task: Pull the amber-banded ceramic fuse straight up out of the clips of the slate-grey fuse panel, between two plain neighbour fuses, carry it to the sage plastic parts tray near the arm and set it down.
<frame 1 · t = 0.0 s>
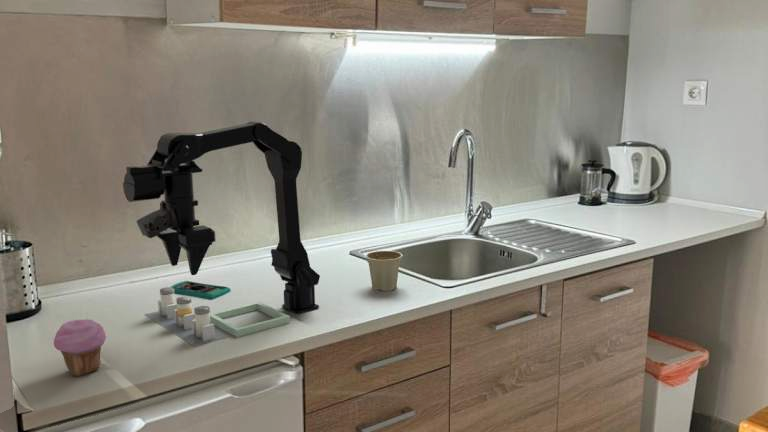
hand: (183, 270, 150), 15 cm above the worktop, fingers open, 9 cm apart
fuse marked: (185, 325, 157), point 1 cm above the worktop, touching fuse panel
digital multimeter: (199, 298, 180), on the worktop
flower pot: (384, 288, 186), on the worktop
fuse left: (168, 315, 163), point 1 cm above the worktop, touching fuse panel
cupcake: (83, 371, 137), on the worktop
fuse panel: (185, 330, 157), on the worktop
fuse right: (203, 336, 150), point 1 cm above the worktop, touching fuse panel
tray: (249, 326, 159), on the worktop
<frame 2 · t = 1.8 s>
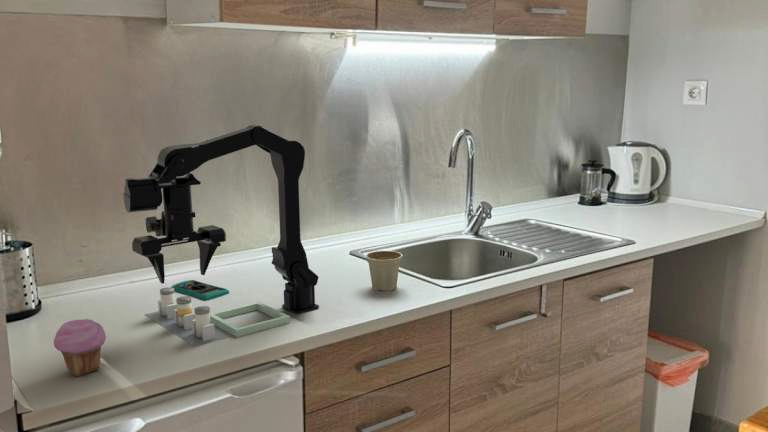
hand: (182, 278, 155), 12 cm above the worktop, fingers open, 9 cm apart
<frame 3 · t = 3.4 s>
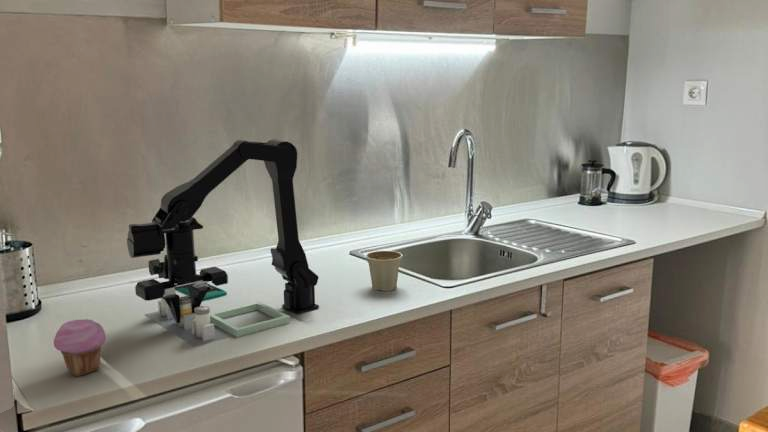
hand: (185, 321, 157), 2 cm above the worktop, fingers closed on fuse marked, 3 cm apart
fuse marked: (185, 325, 157), point 1 cm above the worktop, touching fuse panel, gripper
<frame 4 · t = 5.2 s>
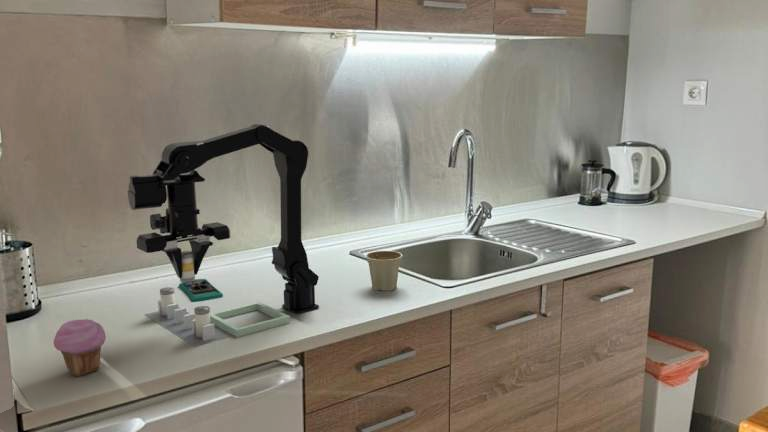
hand: (187, 276, 155), 12 cm above the worktop, fingers closed on fuse marked, 3 cm apart
fuse marked: (187, 280, 155), point 11 cm above the worktop, touching gripper
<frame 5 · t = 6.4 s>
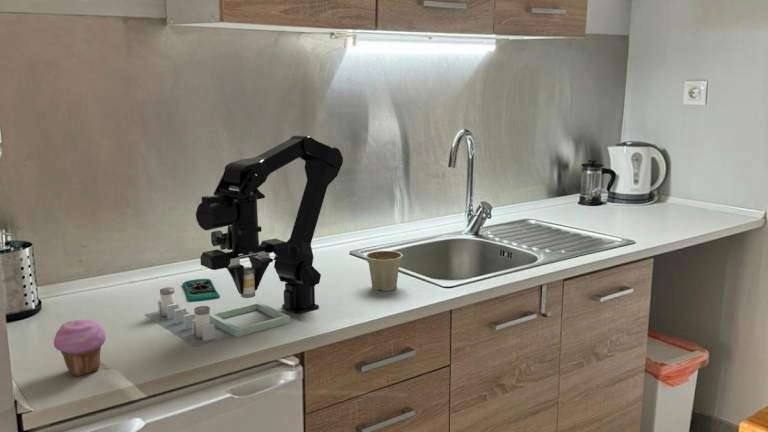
hand: (247, 291, 157), 8 cm above the worktop, fingers closed on fuse marked, 3 cm apart
fuse marked: (248, 295, 158), point 7 cm above the worktop, touching gripper
when the fingers open (3 cm above the worktop, at t = 7.3 s): fuse marked drops 1 cm, resting on tray.
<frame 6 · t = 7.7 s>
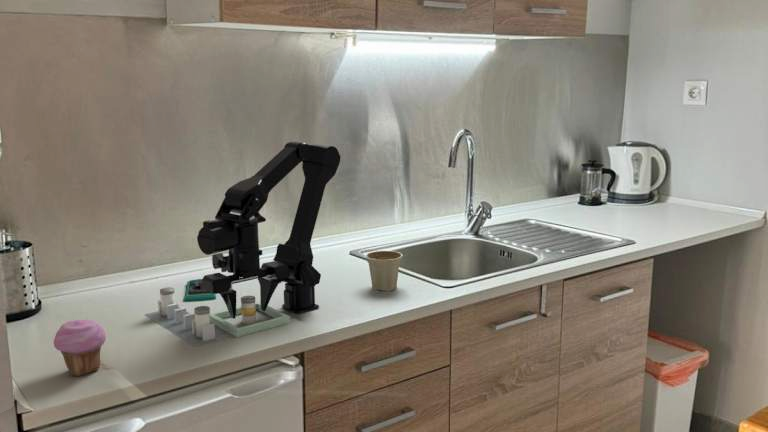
hand: (248, 314, 158), 3 cm above the worktop, fingers open, 7 cm apart
fuse marked: (249, 323, 159), point 1 cm above the worktop, touching tray
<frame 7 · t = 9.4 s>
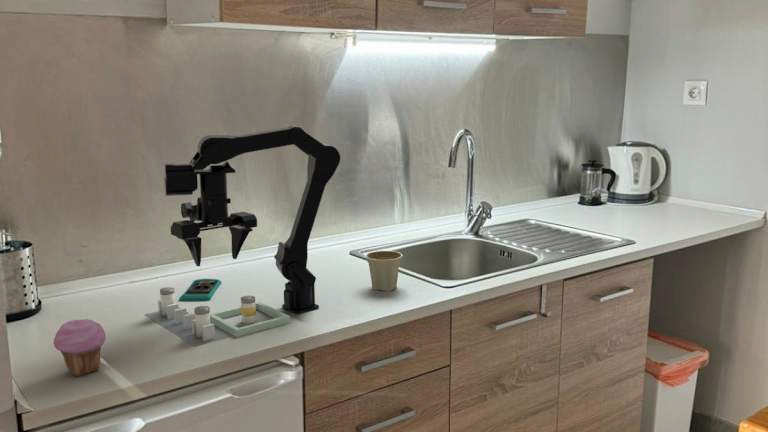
hand: (216, 262, 162), 13 cm above the worktop, fingers open, 9 cm apart
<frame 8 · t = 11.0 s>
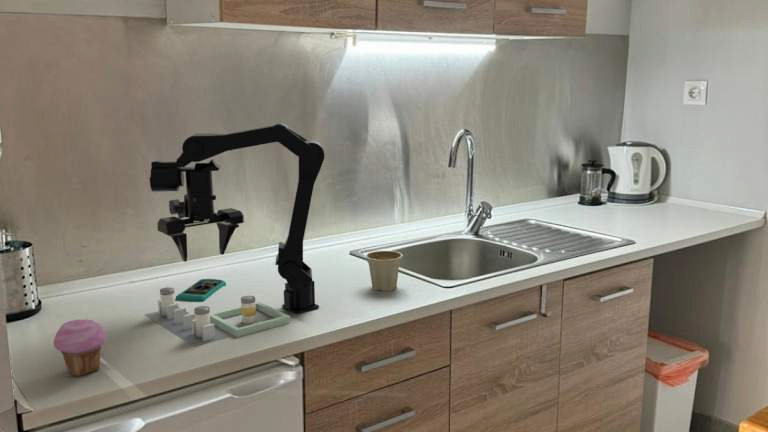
hand: (203, 257, 166), 13 cm above the worktop, fingers open, 9 cm apart
at the end: fuse marked inside the target area on the tray (0.0 cm from its centre), point 0.6 cm above the tray's base; fuse left moved 0.1 cm from its start; fuse right moved 0.1 cm from its start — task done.
